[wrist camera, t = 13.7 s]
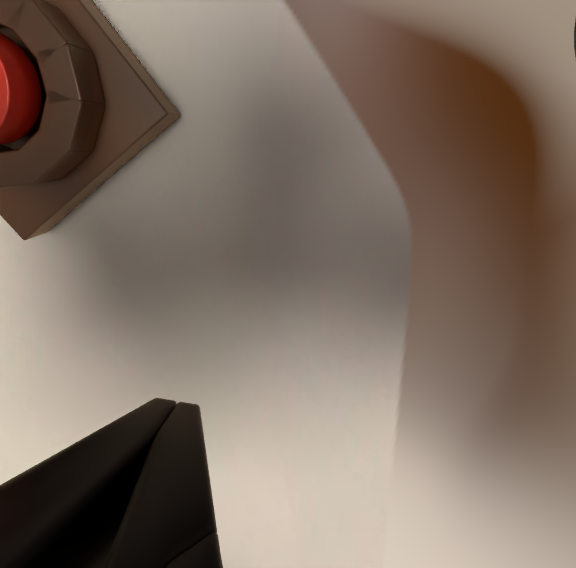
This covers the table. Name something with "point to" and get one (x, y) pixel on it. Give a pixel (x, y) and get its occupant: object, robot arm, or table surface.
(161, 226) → the table surface
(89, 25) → the button base
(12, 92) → the power button
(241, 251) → the table surface
